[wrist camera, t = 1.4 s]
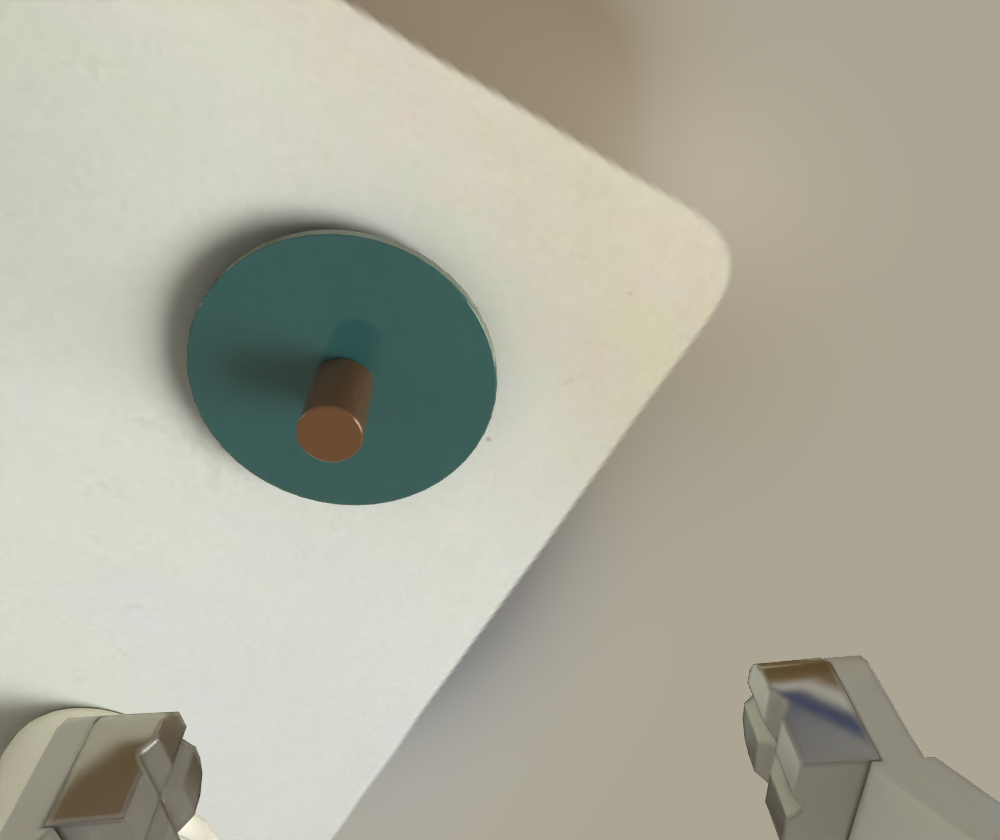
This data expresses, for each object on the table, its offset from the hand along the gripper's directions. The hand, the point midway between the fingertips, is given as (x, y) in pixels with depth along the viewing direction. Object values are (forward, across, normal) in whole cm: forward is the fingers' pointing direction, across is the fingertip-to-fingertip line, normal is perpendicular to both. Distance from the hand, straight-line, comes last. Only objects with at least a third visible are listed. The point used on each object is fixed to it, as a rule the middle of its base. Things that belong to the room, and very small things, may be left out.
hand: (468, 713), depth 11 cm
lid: (+18, +5, +4) cm, 19 cm away
